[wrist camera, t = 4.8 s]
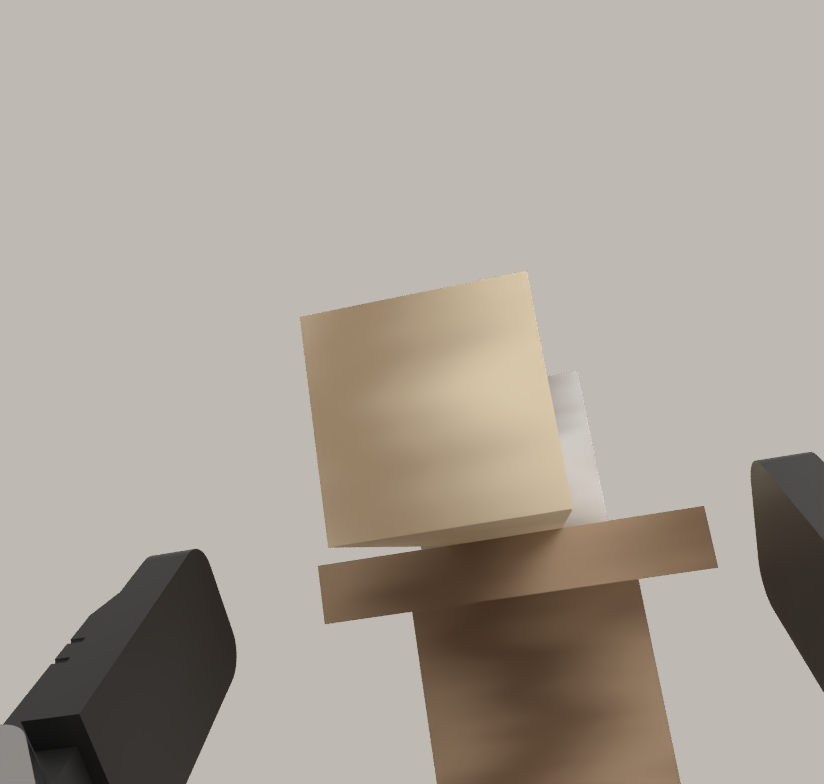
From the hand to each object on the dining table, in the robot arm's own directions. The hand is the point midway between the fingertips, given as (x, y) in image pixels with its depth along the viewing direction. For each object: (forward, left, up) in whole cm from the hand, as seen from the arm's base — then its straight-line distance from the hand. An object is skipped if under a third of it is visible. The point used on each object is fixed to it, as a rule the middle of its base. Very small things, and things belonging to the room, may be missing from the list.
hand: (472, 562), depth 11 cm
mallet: (0, +9, 0) cm, 9 cm away
